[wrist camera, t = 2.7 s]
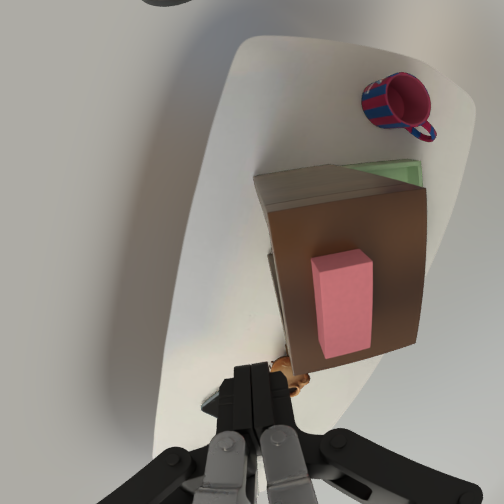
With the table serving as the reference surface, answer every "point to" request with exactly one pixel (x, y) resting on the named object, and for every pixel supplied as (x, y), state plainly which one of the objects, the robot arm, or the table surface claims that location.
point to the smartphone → (211, 405)
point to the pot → (290, 374)
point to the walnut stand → (340, 240)
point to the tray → (394, 170)
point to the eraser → (343, 301)
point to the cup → (399, 104)
